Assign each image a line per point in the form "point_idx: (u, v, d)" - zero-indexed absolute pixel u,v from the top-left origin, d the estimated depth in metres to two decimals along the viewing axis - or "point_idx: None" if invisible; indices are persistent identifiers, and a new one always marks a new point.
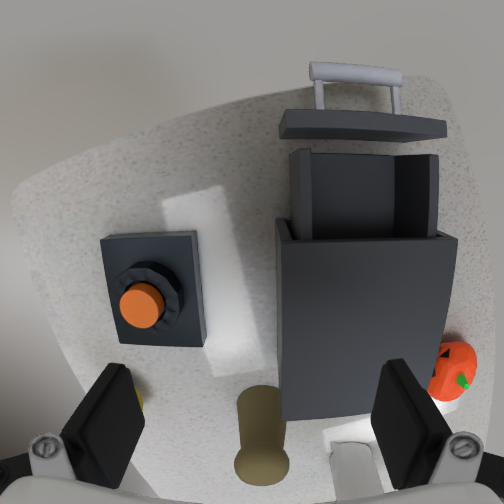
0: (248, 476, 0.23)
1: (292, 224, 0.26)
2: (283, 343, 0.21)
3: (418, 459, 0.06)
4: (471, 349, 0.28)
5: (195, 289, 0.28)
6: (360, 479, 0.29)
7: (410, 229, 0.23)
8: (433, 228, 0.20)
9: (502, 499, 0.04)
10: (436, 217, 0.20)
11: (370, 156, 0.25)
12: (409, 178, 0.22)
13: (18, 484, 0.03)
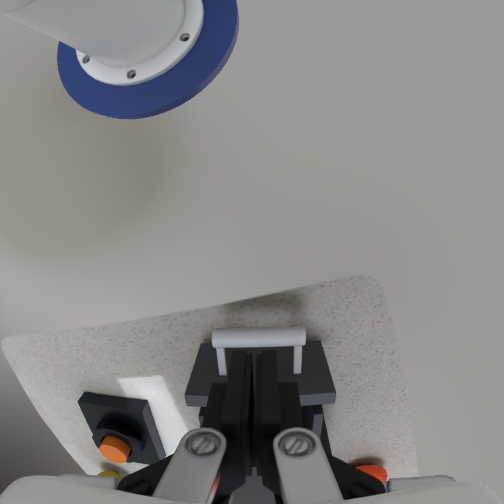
0: None
1: None
2: None
3: None
4: (378, 475, 0.32)
5: (151, 439, 0.32)
6: None
7: None
8: None
9: None
10: None
11: None
12: None
13: (18, 484, 0.03)
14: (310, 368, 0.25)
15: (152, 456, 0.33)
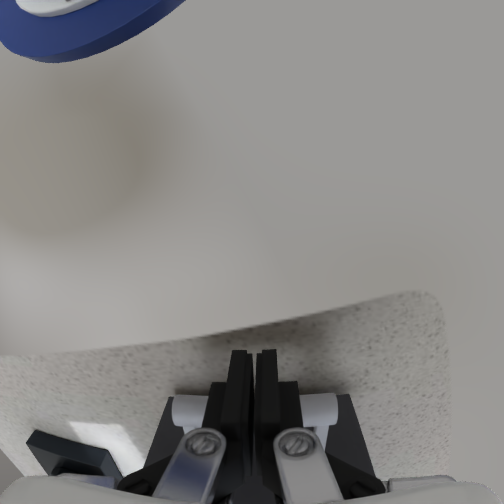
0: None
1: None
2: None
3: (262, 447, 0.08)
4: None
5: None
6: None
7: None
8: None
9: None
10: None
11: None
12: None
13: (18, 484, 0.03)
14: (337, 447, 0.14)
15: None
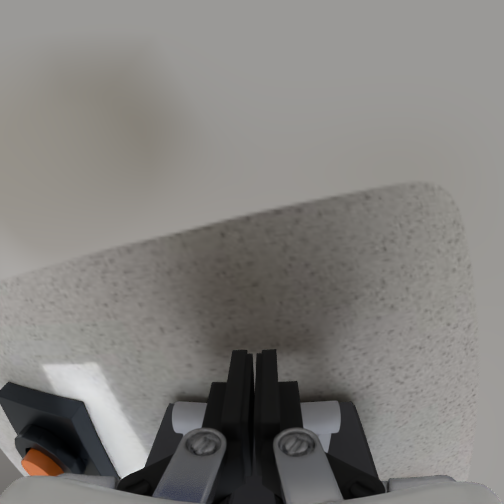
0: None
1: None
2: None
3: None
4: None
5: (91, 460, 0.19)
6: None
7: None
8: None
9: None
10: None
11: None
12: None
13: (18, 484, 0.03)
14: (339, 455, 0.13)
15: None
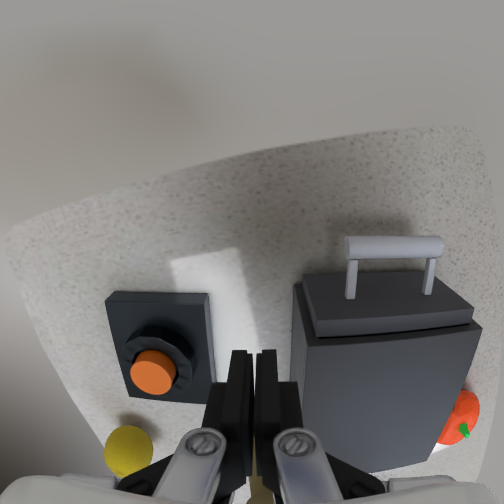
0: None
1: None
2: None
3: (261, 447, 0.08)
4: (475, 399, 0.26)
5: (208, 354, 0.26)
6: None
7: None
8: None
9: None
10: None
11: None
12: None
13: (18, 484, 0.03)
14: (436, 290, 0.21)
15: (203, 387, 0.27)
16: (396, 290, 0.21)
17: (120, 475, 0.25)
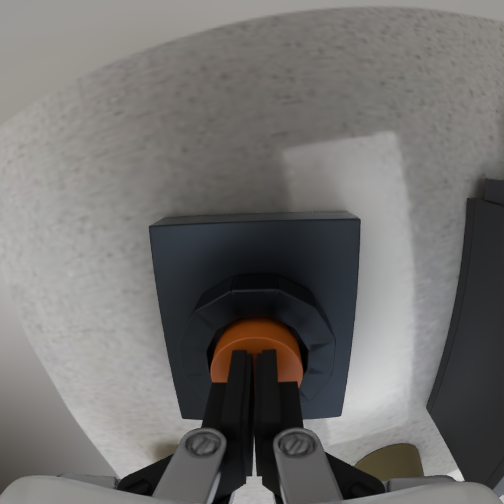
0: None
1: None
2: None
3: None
4: None
5: (352, 324, 0.14)
6: None
7: None
8: None
9: None
10: None
11: None
12: None
13: (18, 484, 0.03)
14: None
15: (330, 388, 0.15)
16: None
17: None
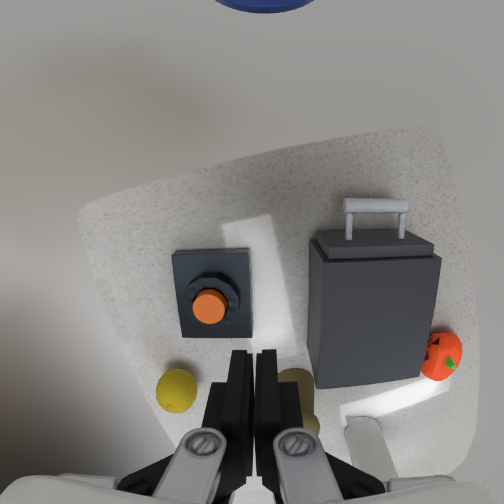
0: None
1: None
2: (322, 330, 0.30)
3: (261, 447, 0.08)
4: (456, 338, 0.37)
5: (249, 293, 0.37)
6: (371, 445, 0.38)
7: None
8: None
9: None
10: None
11: None
12: None
13: (18, 484, 0.03)
14: (408, 237, 0.32)
15: (244, 322, 0.38)
16: (380, 236, 0.33)
17: (171, 408, 0.36)
